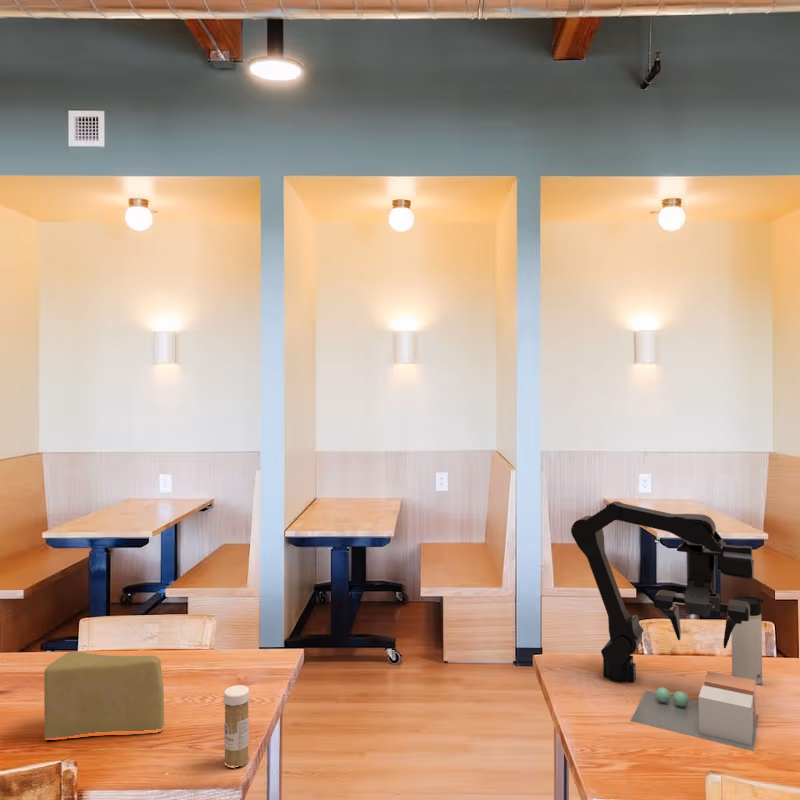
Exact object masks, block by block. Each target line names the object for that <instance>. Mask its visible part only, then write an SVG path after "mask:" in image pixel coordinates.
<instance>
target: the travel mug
mask: <svg viewBox="0 0 800 800" xmlns="http://www.w3.org/2000/svg"><path fill="white" fill-rule="evenodd" d="M731 599H732V600H739V601H746V602H748V603H749V605H750V617H749V621H742V623H741V624H736V625H735V626H734V628H733V630H732V632H731V634H730V636H731V676H736V677H742V678H747V679H752V680H756V686H761V687H762V686H763V641H762V640H763V638H762V637H763V636H762V635H763V634H762V632H763V631H762V630H763V629H762V624H763V622H762V603H764V601H763V598H761V597H760V596H758V597H757V596H748V595H747V596H746V595H744V596H735V597H733V598H731Z"/></svg>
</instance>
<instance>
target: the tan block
mask: <svg viewBox="0 0 800 800" xmlns="http://www.w3.org/2000/svg"><path fill="white" fill-rule="evenodd" d="M703 683H704V684H703V685H704V686H709V687H714V688H719V689H723V690H728V691H733V692H738V693H743V694H748V695H753V726H754V727H755V719H756V715H757V693H756V691H757V685H756V680H752V679H747V678H742V677H736V676H732V674H731V675H730V674H725V673H719V672H715V671H710V670H707V673H706V676H705V678H704V681H703Z"/></svg>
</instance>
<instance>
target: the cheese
mask: <svg viewBox="0 0 800 800" xmlns="http://www.w3.org/2000/svg"><path fill="white" fill-rule="evenodd" d="M43 676H44V677H43V678H44V679H43V681H44V686H43V688H44V690H43V693H44V694H43V696H44V706H43V707H44V709H43V710H44V714H43V715H44V717H43V718H44V725H43V726H44V739H45V738H56V737H66V736H67V737H68V736H74V735H80V734H88V733H95V732H110V731H111V732H112V731H144V730H156V729H162V728H163V726H164V727H165V699H164V698H165V695H164V693H165V691H164V682H163V681H164V680H163V673H162V664H161V659H160V658H159V657H158V656H155V655H107V654H106V655H105V654H96V653H90V652H89V653H88V652H82V651H68V652H66V653H65V654H63V655H62V656H60V657H58V659H56V660H55V661H52V663H50V664H49V665H48V666H46V668H45V669H44V673H43Z"/></svg>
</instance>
